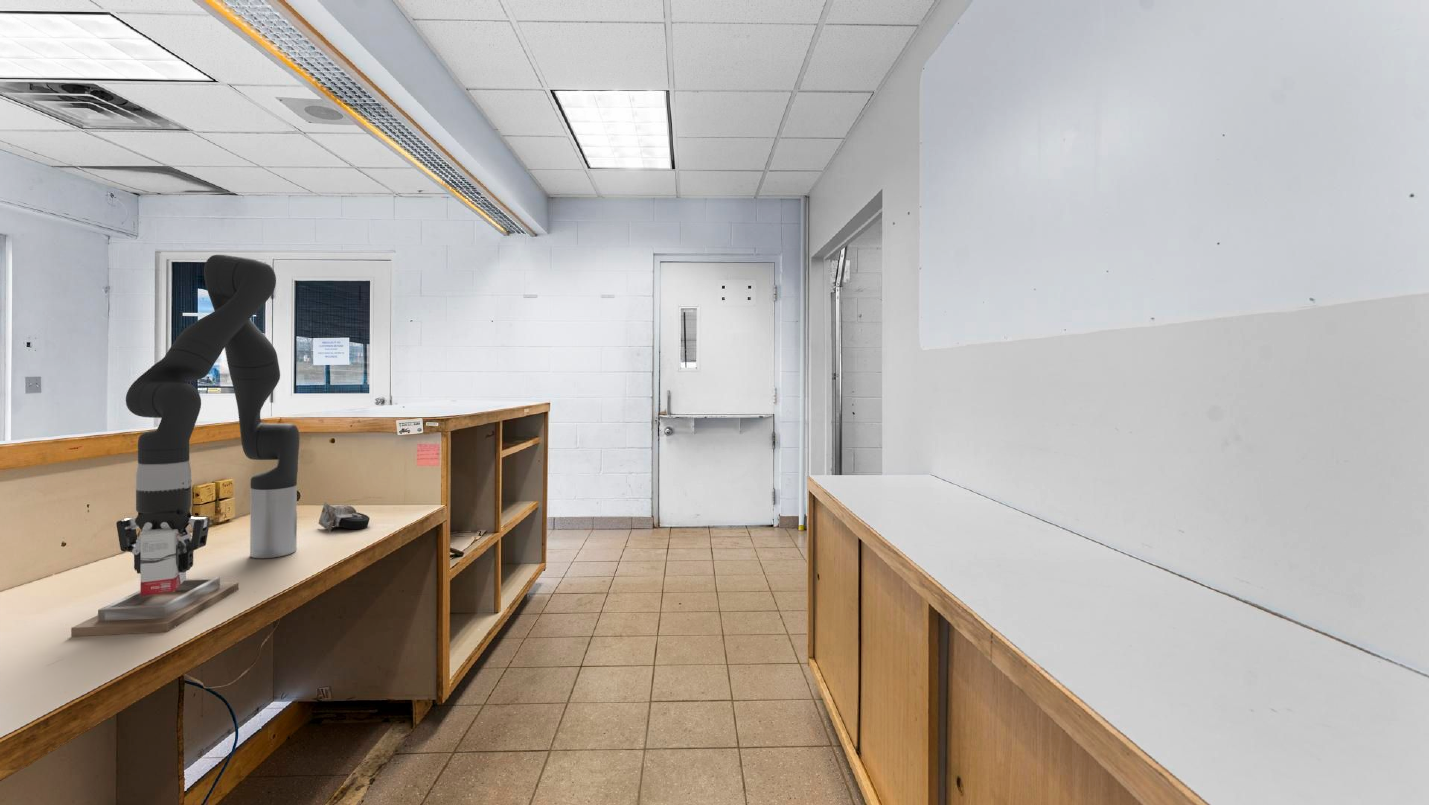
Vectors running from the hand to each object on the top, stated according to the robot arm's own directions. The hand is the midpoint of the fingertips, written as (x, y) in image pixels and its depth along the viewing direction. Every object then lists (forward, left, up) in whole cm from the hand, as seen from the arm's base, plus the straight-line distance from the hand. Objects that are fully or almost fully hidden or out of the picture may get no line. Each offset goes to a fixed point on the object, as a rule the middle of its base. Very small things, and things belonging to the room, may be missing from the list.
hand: (164, 571), depth 106 cm
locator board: (0, 0, -8) cm, 8 cm away
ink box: (0, 0, -3) cm, 3 cm away
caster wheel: (-60, +8, -8) cm, 61 cm away
